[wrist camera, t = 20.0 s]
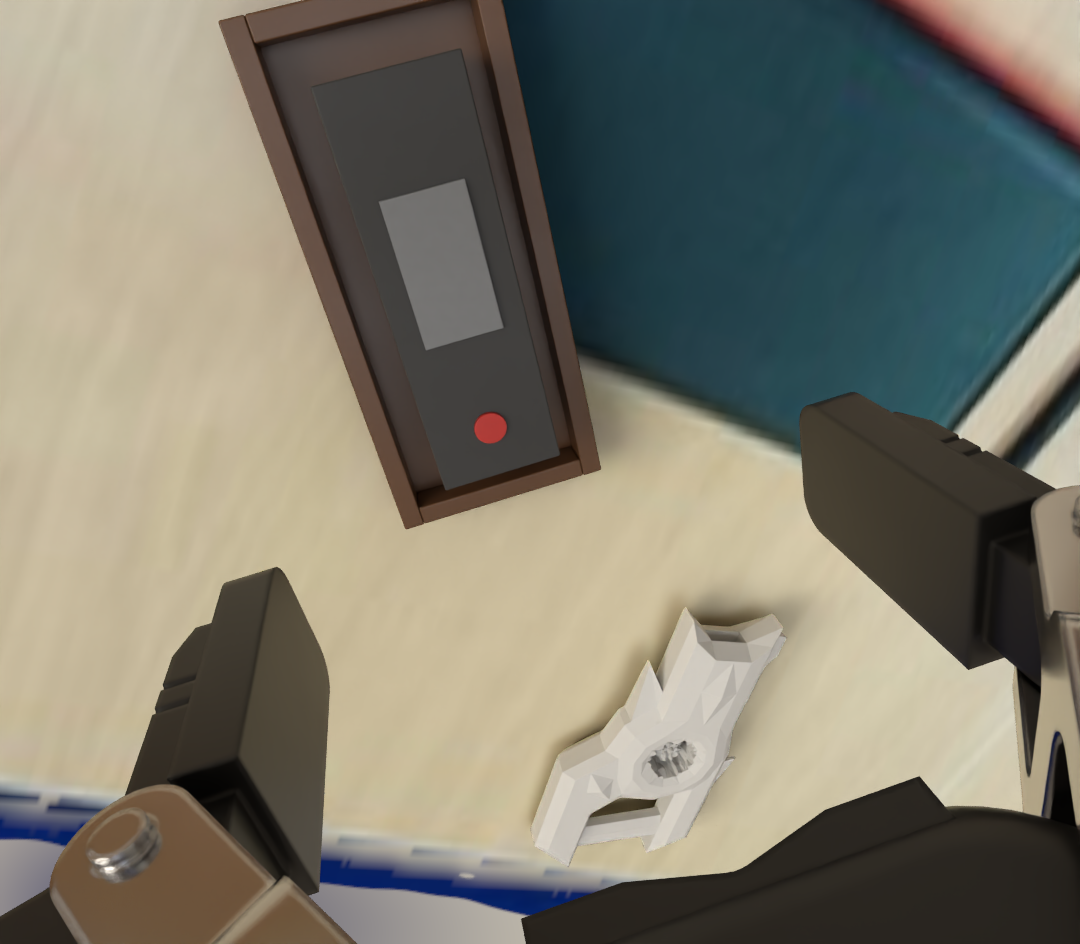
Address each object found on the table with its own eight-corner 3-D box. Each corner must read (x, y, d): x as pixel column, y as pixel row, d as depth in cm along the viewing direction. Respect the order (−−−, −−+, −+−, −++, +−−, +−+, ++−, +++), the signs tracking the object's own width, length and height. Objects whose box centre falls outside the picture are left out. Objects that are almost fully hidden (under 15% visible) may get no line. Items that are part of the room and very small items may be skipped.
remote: (316, 89, 25) (309, 86, 22) (449, 54, 25) (461, 47, 22) (437, 452, 32) (445, 493, 28) (541, 421, 32) (561, 457, 29)
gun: (629, 632, 34) (815, 644, 37) (607, 585, 37) (780, 601, 40) (529, 888, 42) (689, 881, 45) (518, 833, 44) (668, 830, 47)
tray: (483, -36, 25) (492, -46, 23) (589, 451, 34) (601, 470, 32) (227, 26, 24) (217, 20, 22) (403, 507, 33) (405, 530, 31)
